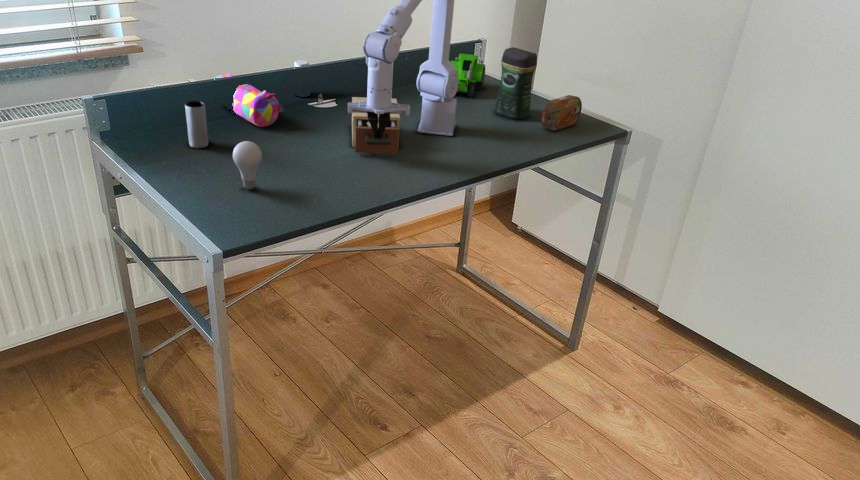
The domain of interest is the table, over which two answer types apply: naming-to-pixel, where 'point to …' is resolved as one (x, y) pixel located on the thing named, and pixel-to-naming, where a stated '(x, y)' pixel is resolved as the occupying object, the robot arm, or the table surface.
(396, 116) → the wooden drawer cabinet
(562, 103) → the tin
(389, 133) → the drawer
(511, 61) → the coffee jar
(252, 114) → the pencil case
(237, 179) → the table surface
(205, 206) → the table surface
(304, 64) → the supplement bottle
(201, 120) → the planter
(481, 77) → the toy tractor
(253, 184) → the lightbulb
